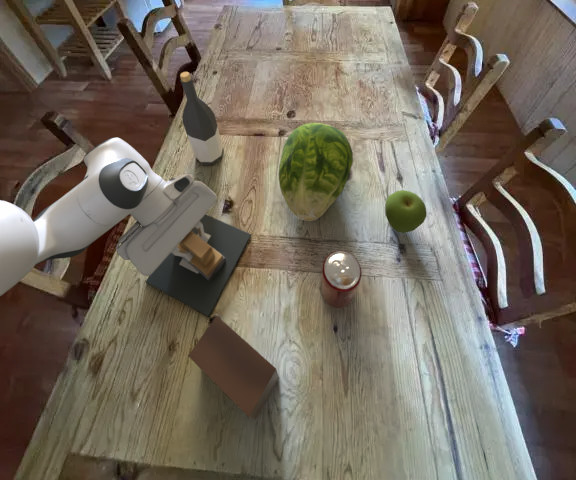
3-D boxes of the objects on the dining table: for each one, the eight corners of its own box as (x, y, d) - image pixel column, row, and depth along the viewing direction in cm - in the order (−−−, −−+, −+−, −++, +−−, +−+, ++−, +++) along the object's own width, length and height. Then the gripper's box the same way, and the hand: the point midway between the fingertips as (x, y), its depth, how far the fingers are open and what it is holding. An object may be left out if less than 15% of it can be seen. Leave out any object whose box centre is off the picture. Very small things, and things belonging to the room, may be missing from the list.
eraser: (209, 281, 72) (202, 268, 67) (174, 251, 77) (164, 236, 71) (226, 260, 75) (220, 245, 70) (191, 232, 80) (183, 217, 74)
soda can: (316, 302, 70) (318, 283, 61) (324, 266, 75) (327, 244, 66) (351, 314, 68) (358, 296, 60) (357, 277, 73) (364, 255, 65)
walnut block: (256, 420, 57) (248, 417, 50) (201, 366, 63) (187, 355, 55) (279, 378, 61) (276, 368, 54) (226, 330, 67) (216, 315, 59)
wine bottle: (229, 148, 98) (210, 68, 77) (213, 170, 93) (188, 90, 72) (206, 139, 101) (181, 59, 80) (189, 160, 96) (158, 80, 75)
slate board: (209, 317, 68) (208, 316, 68) (146, 283, 73) (145, 281, 73) (251, 235, 80) (251, 234, 79) (194, 210, 85) (194, 208, 84)
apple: (422, 220, 81) (435, 195, 73) (410, 250, 77) (422, 227, 68) (388, 201, 85) (397, 176, 77) (374, 229, 80) (382, 205, 72)
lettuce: (254, 210, 76) (325, 201, 66) (269, 120, 89) (330, 101, 79) (301, 231, 87) (368, 226, 77) (308, 148, 100) (366, 135, 90)
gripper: (113, 248, 62) (164, 298, 64) (195, 168, 73) (235, 213, 76) (108, 244, 67) (156, 291, 69) (185, 170, 78) (224, 212, 81)
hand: (198, 250), depth 73 cm, fingers closed on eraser, 3 cm apart
